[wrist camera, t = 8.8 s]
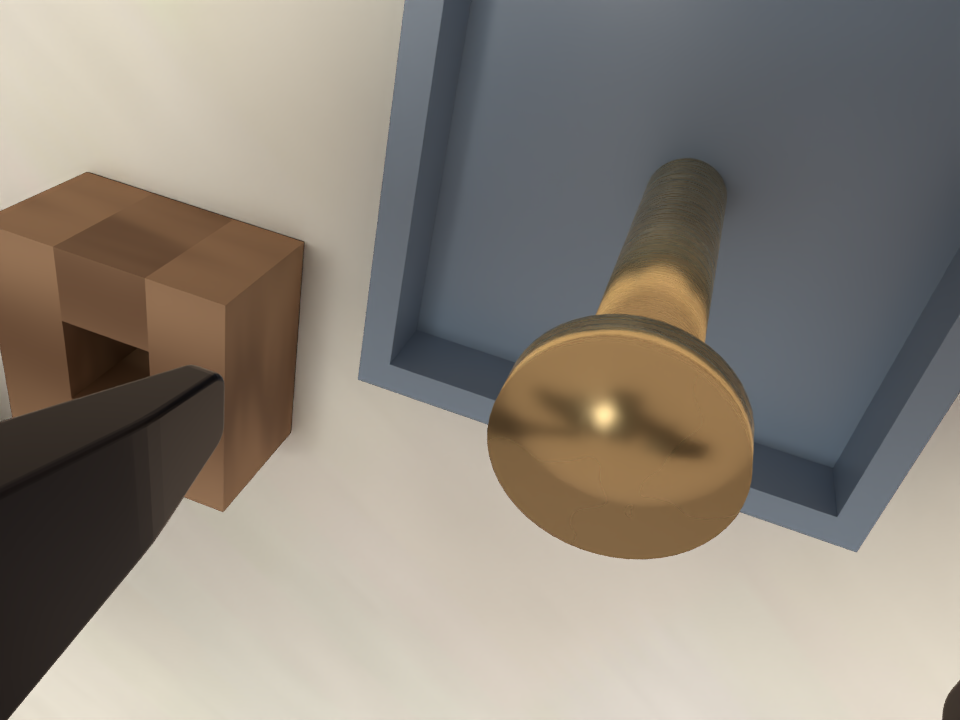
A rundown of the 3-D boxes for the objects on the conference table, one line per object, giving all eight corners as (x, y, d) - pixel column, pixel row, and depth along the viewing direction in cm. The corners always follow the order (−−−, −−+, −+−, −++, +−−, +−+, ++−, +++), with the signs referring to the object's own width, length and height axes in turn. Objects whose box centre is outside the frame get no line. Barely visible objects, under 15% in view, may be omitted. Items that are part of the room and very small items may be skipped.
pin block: (290, 432, 27) (223, 512, 24) (104, 365, 28) (15, 432, 25) (304, 242, 23) (225, 305, 20) (86, 172, 24) (-23, 221, 21)
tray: (849, 487, 22) (856, 552, 20) (394, 334, 24) (357, 379, 22) (1170, -50, 14) (1234, -35, 12) (474, -206, 16) (431, -215, 14)
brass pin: (732, 284, 19) (698, 592, 11) (593, 242, 20) (467, 507, 12) (789, 146, 17) (797, 399, 9) (634, 103, 18) (515, 308, 10)
